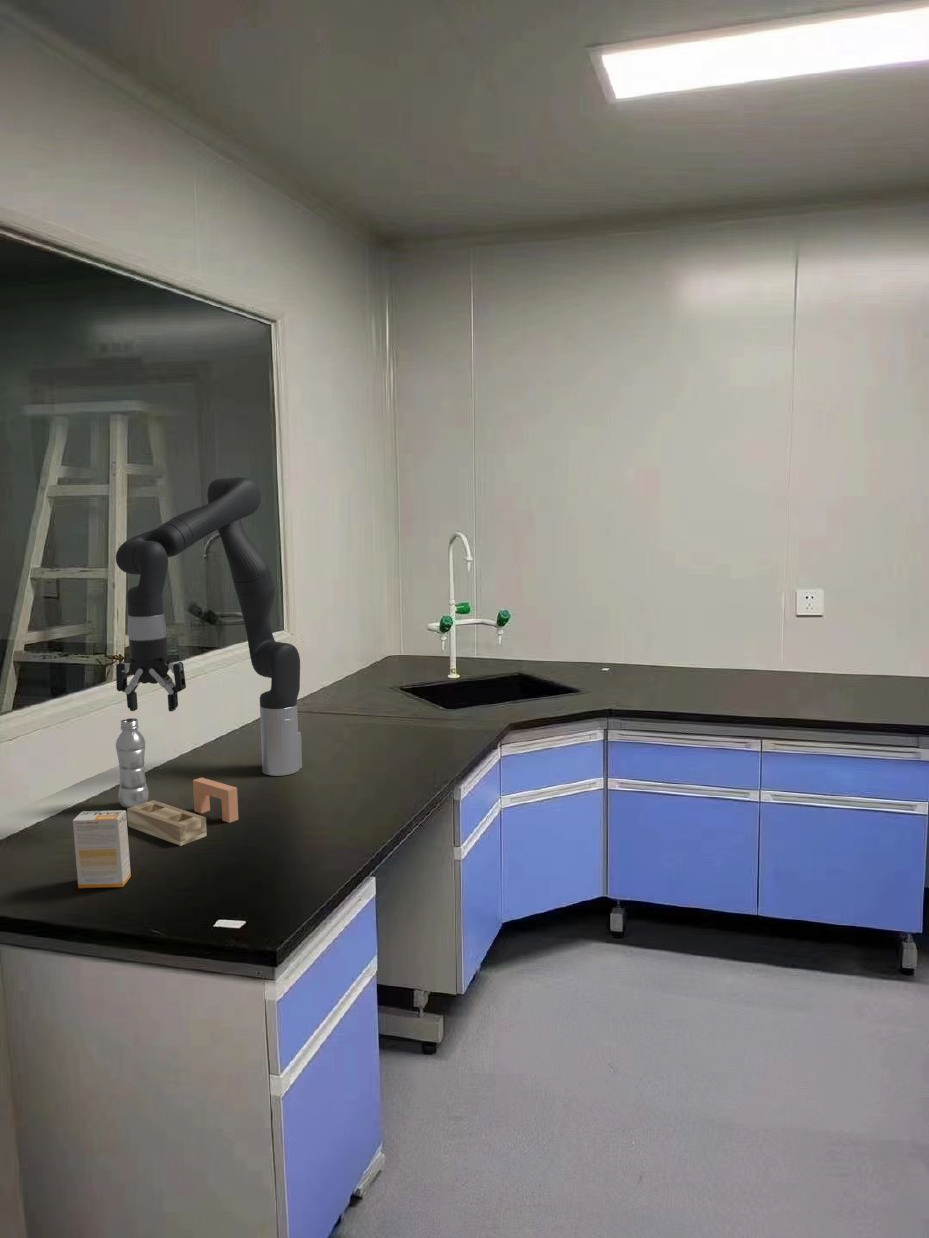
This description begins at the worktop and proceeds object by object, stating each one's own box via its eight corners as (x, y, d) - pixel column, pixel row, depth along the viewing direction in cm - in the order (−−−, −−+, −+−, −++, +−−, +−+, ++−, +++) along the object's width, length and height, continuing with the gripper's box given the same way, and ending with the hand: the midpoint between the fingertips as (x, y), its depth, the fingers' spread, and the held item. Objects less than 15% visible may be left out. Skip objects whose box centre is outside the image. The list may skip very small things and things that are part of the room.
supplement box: (131, 876, 167) (127, 809, 165) (123, 888, 162) (118, 818, 160) (86, 877, 167) (82, 809, 165) (76, 888, 162) (71, 819, 160)
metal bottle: (117, 812, 200) (112, 725, 197) (120, 802, 206) (115, 717, 203) (148, 809, 202) (143, 723, 199) (150, 799, 208) (145, 715, 205)
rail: (154, 817, 197) (153, 799, 196) (206, 835, 186) (205, 817, 186) (128, 826, 192) (127, 808, 191) (180, 845, 181) (179, 826, 181)
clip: (203, 808, 202) (201, 777, 201) (238, 819, 195) (237, 787, 194) (194, 811, 200) (192, 780, 199) (229, 822, 194) (228, 790, 192)
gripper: (187, 632, 192) (192, 706, 194) (123, 632, 193) (129, 705, 196) (172, 639, 184) (178, 715, 187) (106, 638, 186) (112, 714, 188)
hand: (153, 710), depth 191 cm, fingers open, 8 cm apart
